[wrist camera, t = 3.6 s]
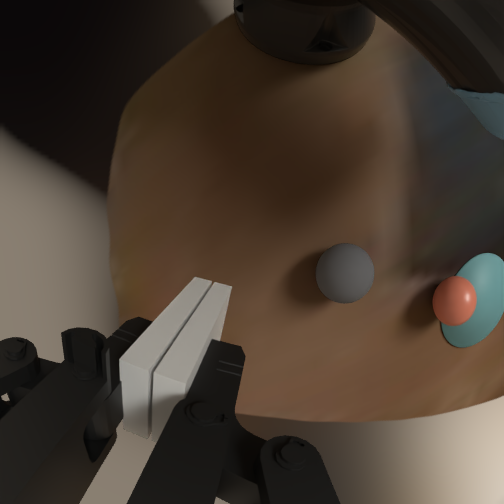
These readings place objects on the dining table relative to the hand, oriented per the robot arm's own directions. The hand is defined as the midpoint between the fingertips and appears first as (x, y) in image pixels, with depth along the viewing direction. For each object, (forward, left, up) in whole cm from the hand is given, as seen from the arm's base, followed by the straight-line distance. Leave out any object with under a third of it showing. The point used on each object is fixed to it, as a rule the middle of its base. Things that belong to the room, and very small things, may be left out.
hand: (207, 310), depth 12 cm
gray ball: (+9, +3, -14) cm, 17 cm away
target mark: (+29, +10, -16) cm, 35 cm away
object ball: (+22, +8, -14) cm, 27 cm away
